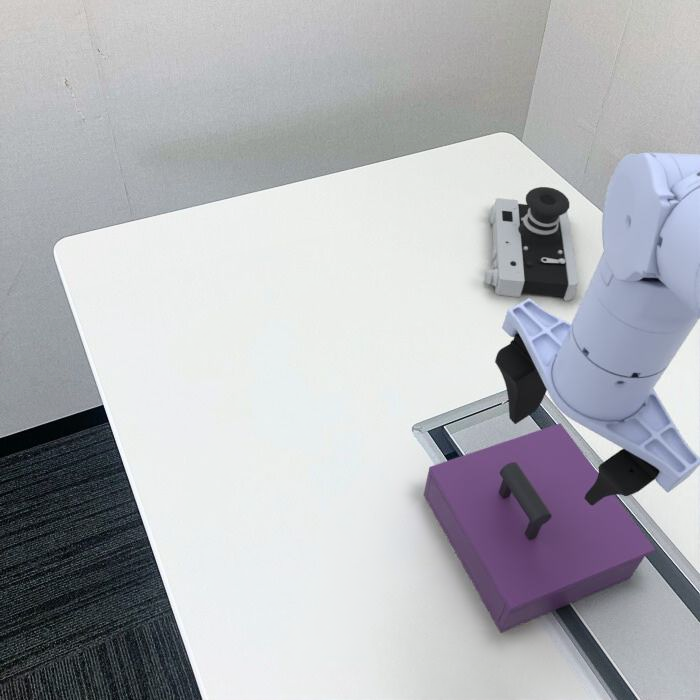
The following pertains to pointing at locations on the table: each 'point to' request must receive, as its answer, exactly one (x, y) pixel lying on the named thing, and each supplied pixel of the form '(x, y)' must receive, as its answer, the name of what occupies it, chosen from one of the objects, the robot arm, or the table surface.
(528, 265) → the camera
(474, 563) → the purple box
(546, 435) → the box cover
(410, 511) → the table surface
